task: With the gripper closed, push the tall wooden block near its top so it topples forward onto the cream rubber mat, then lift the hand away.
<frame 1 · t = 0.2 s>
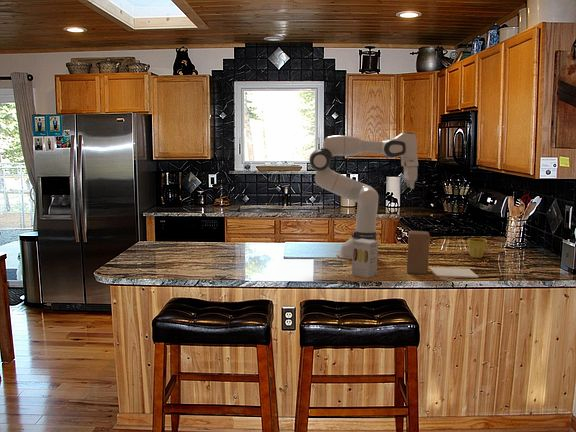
hand: (410, 187, 309), 39 cm above the countertop, tool pointing down, fingers open, 8 cm apart
wooden block: (416, 272, 284), on the countertop
mat: (453, 273, 283), on the countertop
plant pot: (476, 256, 323), on the countertop
supplement box: (364, 275, 276), on the countertop
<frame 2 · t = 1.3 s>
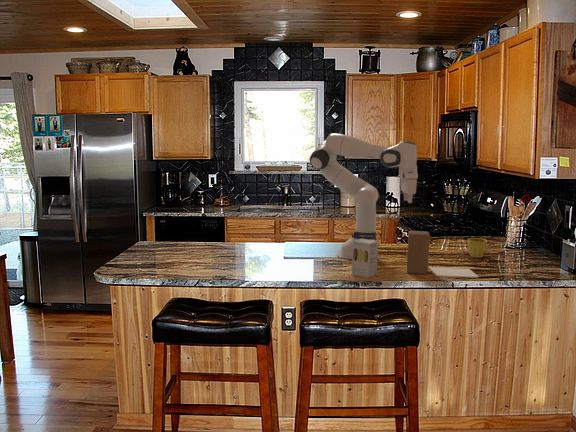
hand: (407, 201, 284), 34 cm above the countertop, tool pointing down, fingers open, 8 cm apart
nothing on the countertop moved.
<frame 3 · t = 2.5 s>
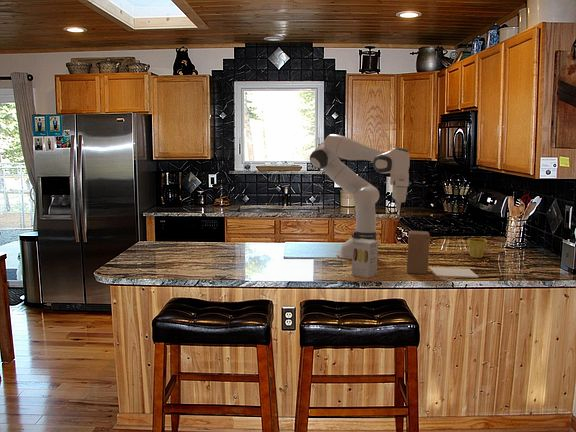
hand: (397, 209, 279), 31 cm above the countertop, tool pointing down, fingers closed
nothing on the countertop moved.
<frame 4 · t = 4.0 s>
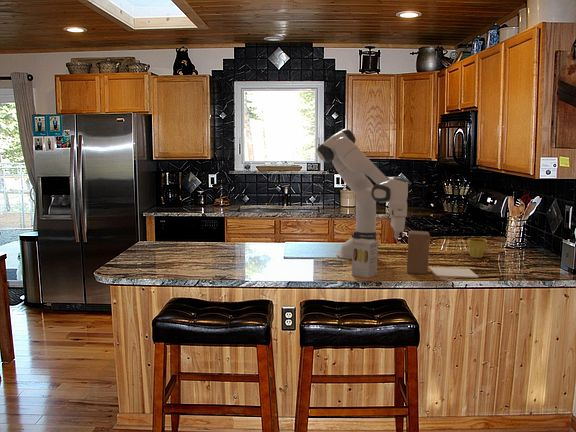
hand: (396, 238, 281), 17 cm above the countertop, tool pointing down, fingers closed
nothing on the countertop moved.
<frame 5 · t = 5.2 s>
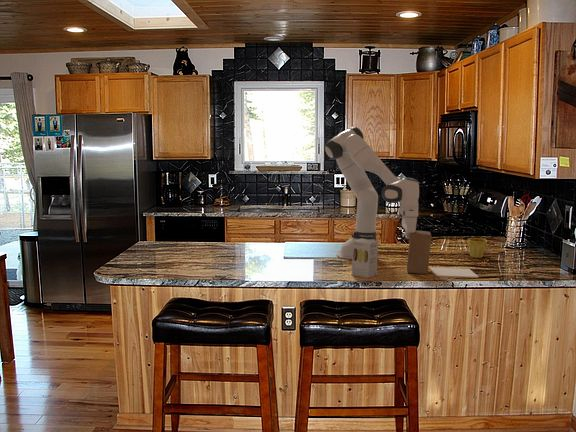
hand: (407, 238, 281), 17 cm above the countertop, tool pointing down, fingers closed, pressing on wooden block
wooden block: (416, 272, 284), on the countertop, touching gripper
everything else where it was.
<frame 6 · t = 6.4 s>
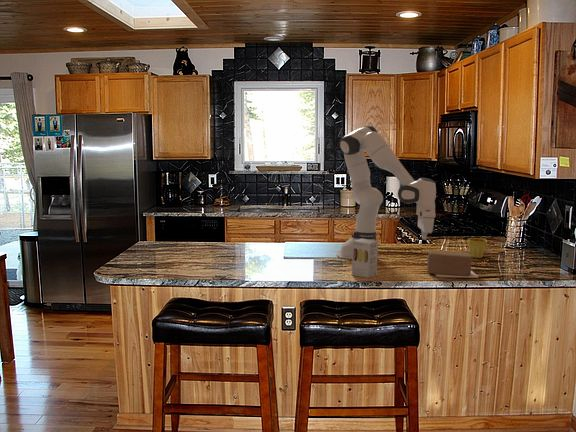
hand: (424, 239, 281), 17 cm above the countertop, tool pointing down, fingers closed
wooden block: (427, 261, 282), point 6 cm above the countertop, touching mat
everything else where it was.
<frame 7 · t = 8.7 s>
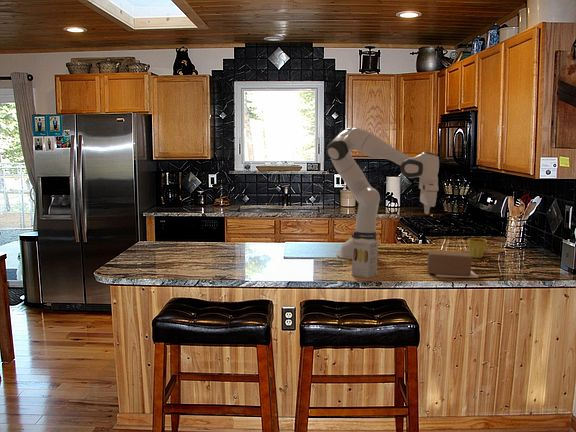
hand: (426, 213, 280), 29 cm above the countertop, tool pointing down, fingers closed
nothing on the countertop moved.
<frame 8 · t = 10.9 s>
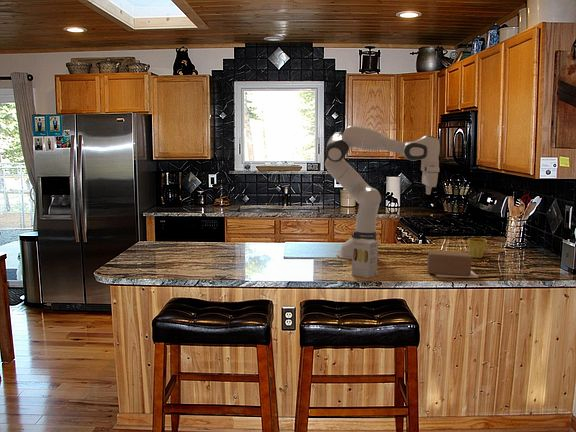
hand: (428, 194, 296), 37 cm above the countertop, tool pointing down, fingers closed
nothing on the countertop moved.
at the end: wooden block tilted 90°; wooden block touching mat; wooden block inside the target area (4.3 cm from its centre), point 5.6 cm above the countertop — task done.
